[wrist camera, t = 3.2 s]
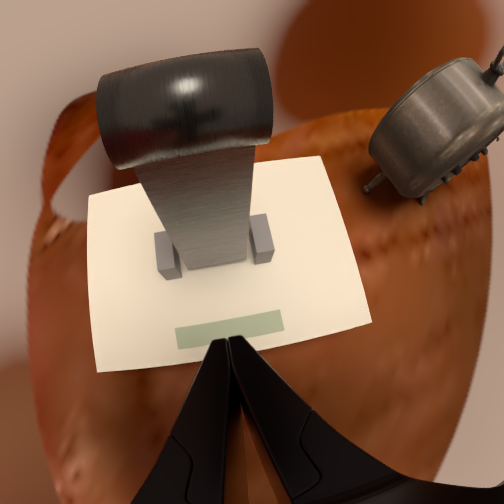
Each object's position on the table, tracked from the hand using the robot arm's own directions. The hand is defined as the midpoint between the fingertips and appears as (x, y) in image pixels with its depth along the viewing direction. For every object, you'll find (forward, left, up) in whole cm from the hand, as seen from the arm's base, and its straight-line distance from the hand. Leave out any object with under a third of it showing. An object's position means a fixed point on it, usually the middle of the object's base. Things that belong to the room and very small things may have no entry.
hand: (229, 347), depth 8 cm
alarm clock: (+18, -3, -10) cm, 21 cm away
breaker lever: (+3, +4, -6) cm, 7 cm away
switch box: (+3, +4, -10) cm, 11 cm away
